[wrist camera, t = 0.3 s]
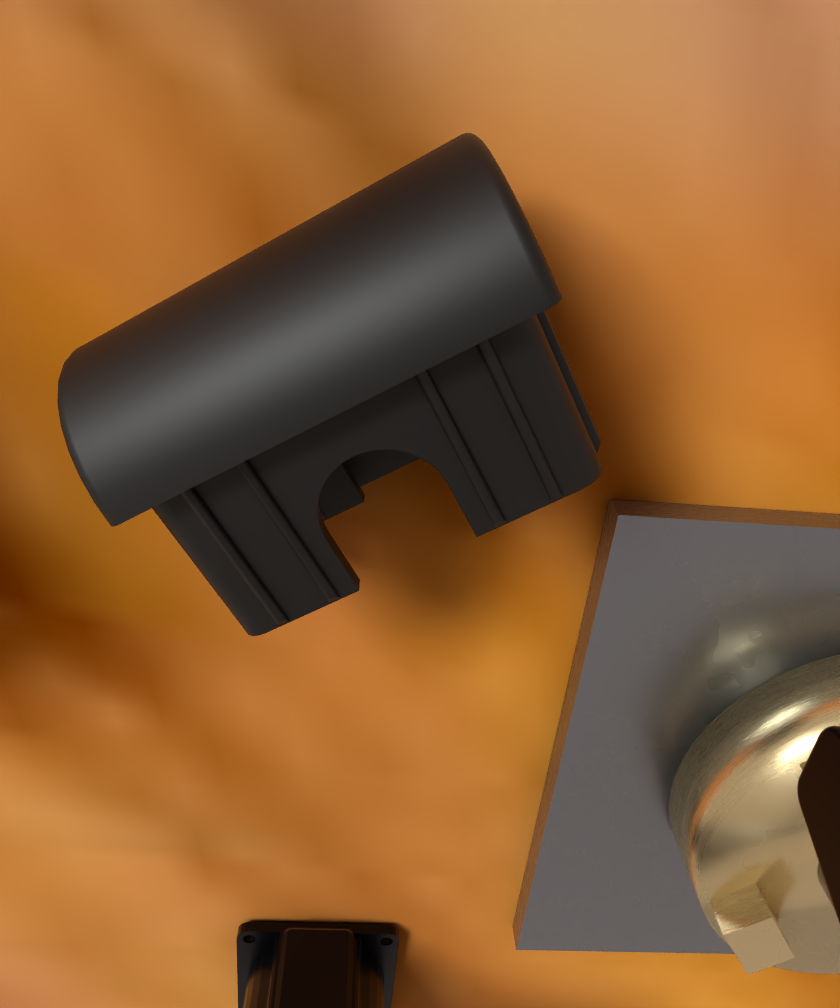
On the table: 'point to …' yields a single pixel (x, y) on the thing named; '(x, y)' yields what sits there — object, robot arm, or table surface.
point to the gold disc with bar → (761, 823)
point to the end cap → (337, 385)
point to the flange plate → (664, 708)
